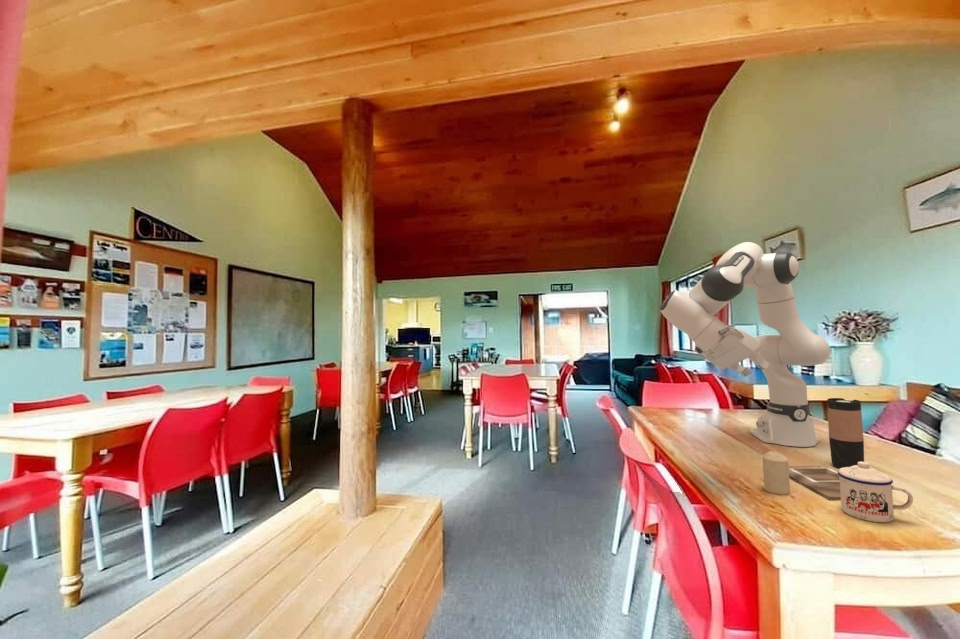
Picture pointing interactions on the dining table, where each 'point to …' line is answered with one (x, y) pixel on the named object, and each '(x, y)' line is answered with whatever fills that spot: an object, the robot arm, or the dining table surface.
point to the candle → (776, 473)
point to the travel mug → (845, 432)
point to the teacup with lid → (869, 493)
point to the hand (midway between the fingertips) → (757, 371)
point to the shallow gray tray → (817, 480)
